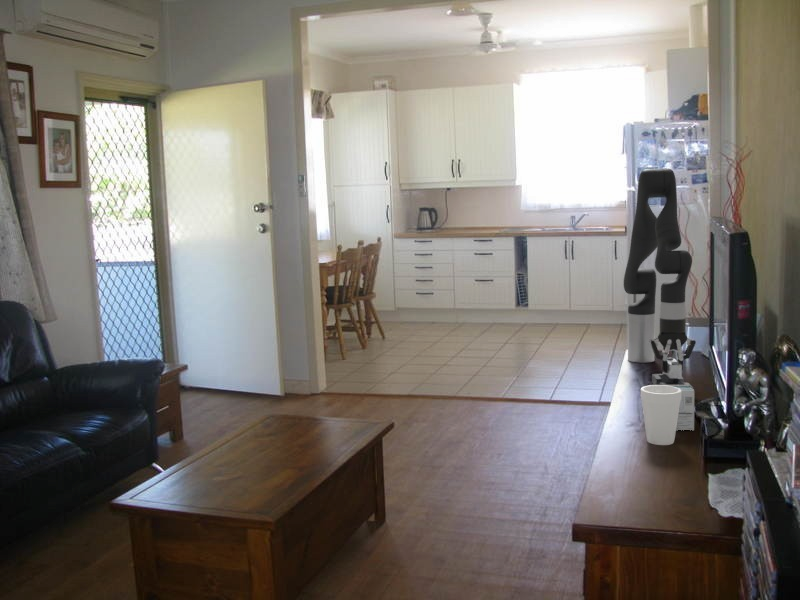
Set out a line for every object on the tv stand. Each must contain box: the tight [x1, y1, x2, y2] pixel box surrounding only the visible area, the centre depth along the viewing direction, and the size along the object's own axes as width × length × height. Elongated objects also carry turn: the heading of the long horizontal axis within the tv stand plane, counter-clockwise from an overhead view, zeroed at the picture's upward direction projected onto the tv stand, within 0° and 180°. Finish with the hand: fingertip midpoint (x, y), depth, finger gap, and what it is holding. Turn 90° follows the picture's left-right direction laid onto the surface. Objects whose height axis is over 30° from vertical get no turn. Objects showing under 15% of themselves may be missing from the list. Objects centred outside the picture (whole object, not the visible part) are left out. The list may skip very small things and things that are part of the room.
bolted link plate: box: [662, 357, 683, 378], centre depth 251 cm, size 10×3×4 cm, turn 174°
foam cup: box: [640, 384, 682, 446], centre depth 201 cm, size 10×9×13 cm
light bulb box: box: [647, 384, 695, 432], centre depth 212 cm, size 11×7×11 cm, turn 84°
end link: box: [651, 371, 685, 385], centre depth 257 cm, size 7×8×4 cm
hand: (672, 372), depth 251 cm, fingers closed on bolted link plate, 3 cm apart
